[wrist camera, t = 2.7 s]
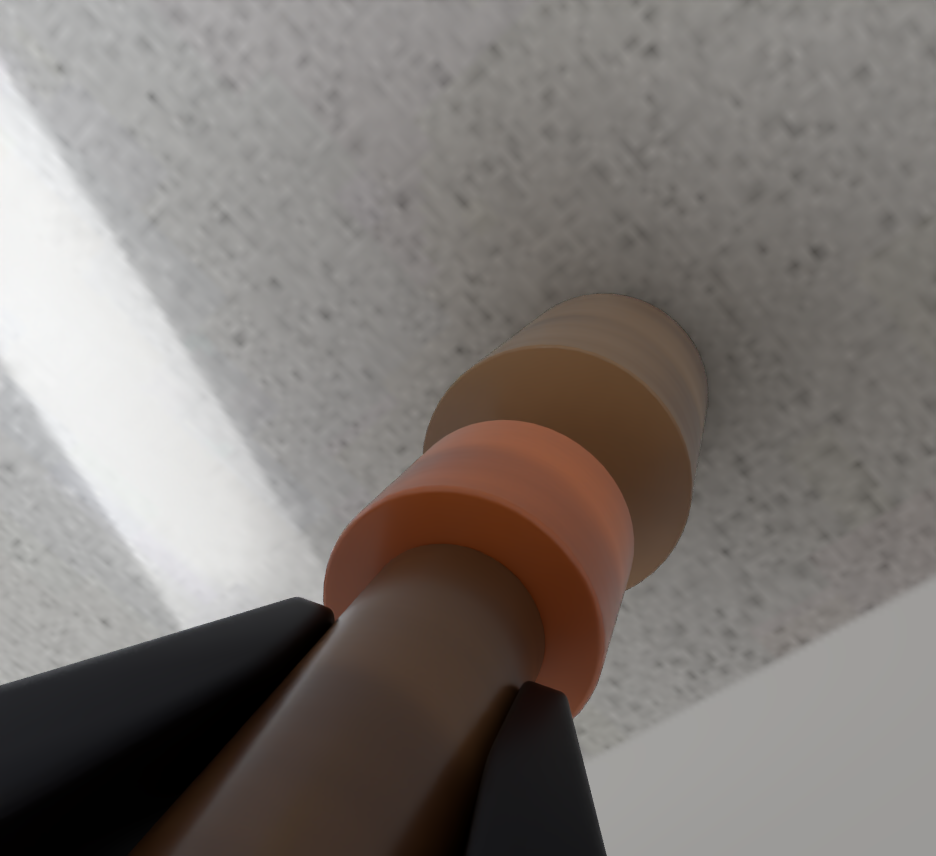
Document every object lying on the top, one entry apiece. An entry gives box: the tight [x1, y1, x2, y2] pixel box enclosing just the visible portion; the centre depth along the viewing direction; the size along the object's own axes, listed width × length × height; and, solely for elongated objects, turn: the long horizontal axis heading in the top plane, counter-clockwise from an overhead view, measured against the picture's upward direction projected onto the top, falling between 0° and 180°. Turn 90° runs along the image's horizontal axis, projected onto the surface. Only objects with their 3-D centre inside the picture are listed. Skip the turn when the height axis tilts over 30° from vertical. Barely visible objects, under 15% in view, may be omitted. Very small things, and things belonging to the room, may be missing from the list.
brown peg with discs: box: [127, 420, 634, 856], centre depth 8 cm, size 3×3×8 cm
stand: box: [423, 294, 708, 591], centre depth 16 cm, size 4×4×6 cm
